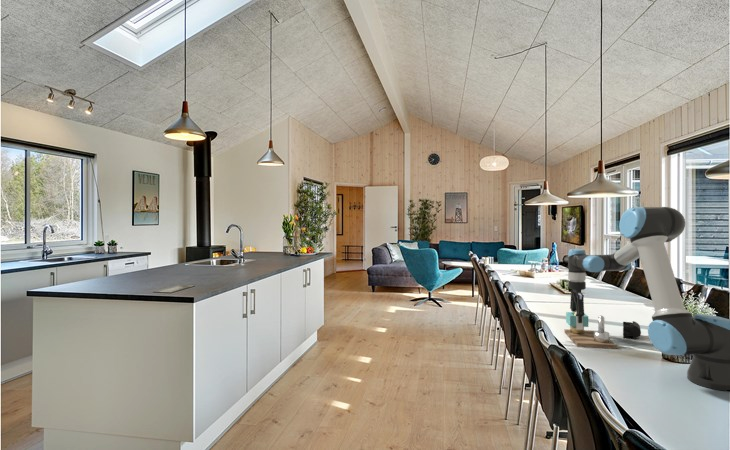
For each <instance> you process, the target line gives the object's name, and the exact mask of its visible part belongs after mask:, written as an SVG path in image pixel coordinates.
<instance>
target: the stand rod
mask: <svg viewBox="0 0 730 450" xmlns="http://www.w3.org/2000/svg"><path fill="white" fill-rule="evenodd" d="M597 322H598V323H597V326H598V327H597V330H593V331H594V341H595V342H599V343H609V339H610V333H609V332H608V331H605V316H604V315H599V316H598V321H597Z"/></svg>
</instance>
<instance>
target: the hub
mask: <svg viewBox="0 0 730 450" xmlns="http://www.w3.org/2000/svg"><path fill="white" fill-rule="evenodd" d="M574 315H577V311H576V312H575V313H574ZM569 329H570V332H571V333H573V334H584V330H585V327H583V330H577V329H576V326H570V325H569Z"/></svg>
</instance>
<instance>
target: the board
mask: <svg viewBox="0 0 730 450" xmlns="http://www.w3.org/2000/svg"><path fill="white" fill-rule="evenodd" d="M563 331H564V333H565V335H566V336H567V337H568V338H569V339H570V341H571V342H572V343H573V344H574V345H575V346H576V347H579V348H581V347H582V348H595V349H596V348H597V349H611V348H612V349H613V350H616V349H617V347H618V345H617V344H616V343H615V342H613V341H612V339H610V338H609V343H599V342H595V341H594V331H595V330H591V329H590V330H589V329H588V330H587V329H584V334H573V333H571V332H570V328H568V329H564V330H563ZM612 349H611V350H612Z"/></svg>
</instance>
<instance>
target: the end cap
mask: <svg viewBox="0 0 730 450" xmlns="http://www.w3.org/2000/svg"><path fill="white" fill-rule="evenodd" d="M622 326H623V327H622V338H623V339H625V338H626V339H627V340H636V339H638V338H639V337H640V336H641V335H642V331H641V327H640V324H639V323H638V322H637V321H634V320H633V321H632V322H630V321H622Z"/></svg>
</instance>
